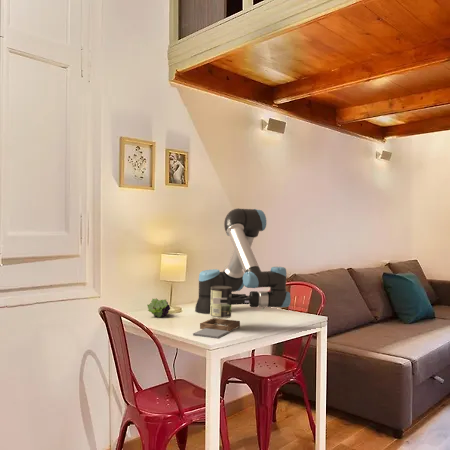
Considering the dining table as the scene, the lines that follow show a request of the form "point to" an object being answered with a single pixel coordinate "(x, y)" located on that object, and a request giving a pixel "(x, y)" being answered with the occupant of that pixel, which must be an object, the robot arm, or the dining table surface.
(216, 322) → the square wooden frame
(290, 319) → the dining table surface
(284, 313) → the dining table surface
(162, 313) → the fruit
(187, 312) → the dining table surface
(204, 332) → the mat
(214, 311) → the coffee can
